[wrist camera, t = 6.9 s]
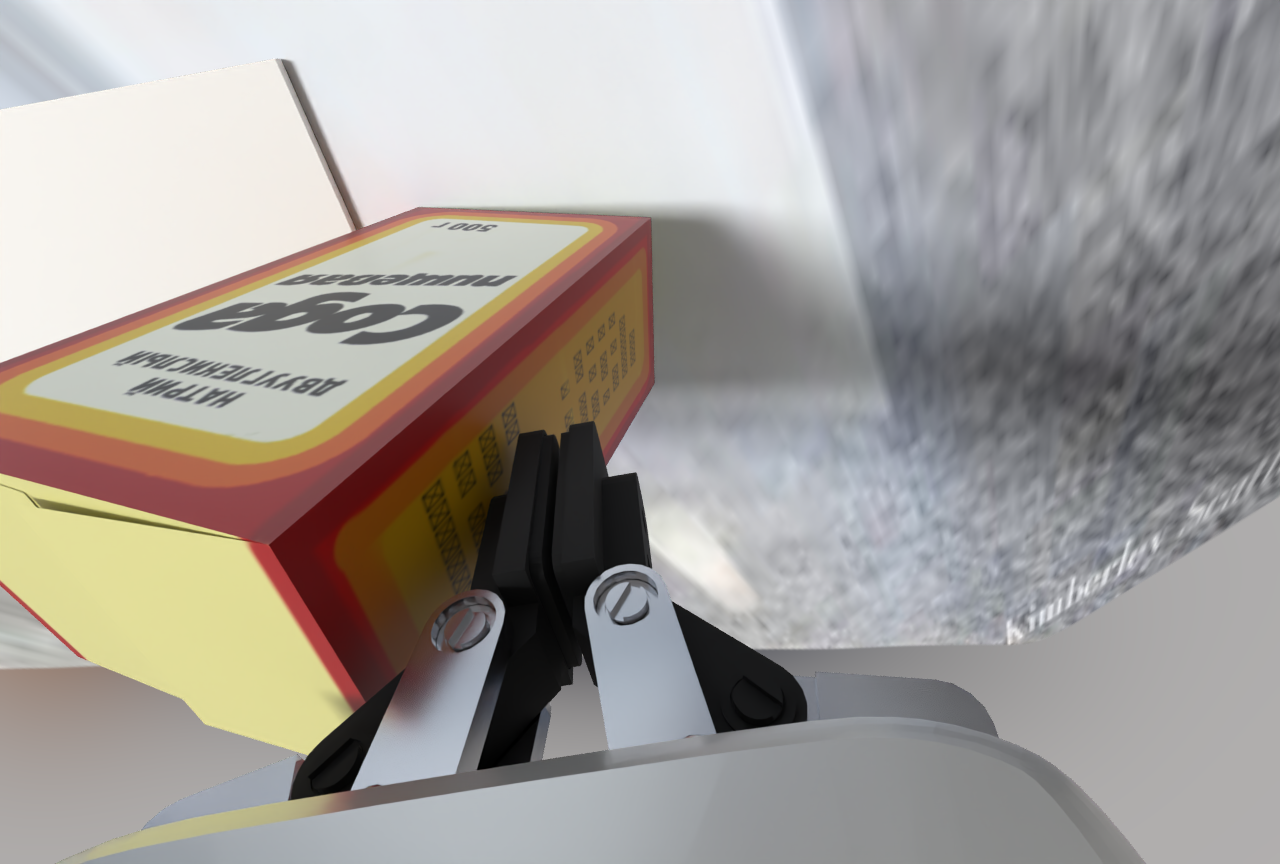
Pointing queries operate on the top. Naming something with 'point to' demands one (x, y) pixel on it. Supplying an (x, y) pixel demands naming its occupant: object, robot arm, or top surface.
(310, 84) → the top surface
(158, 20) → the top surface
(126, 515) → the baking soda box
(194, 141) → the mat
